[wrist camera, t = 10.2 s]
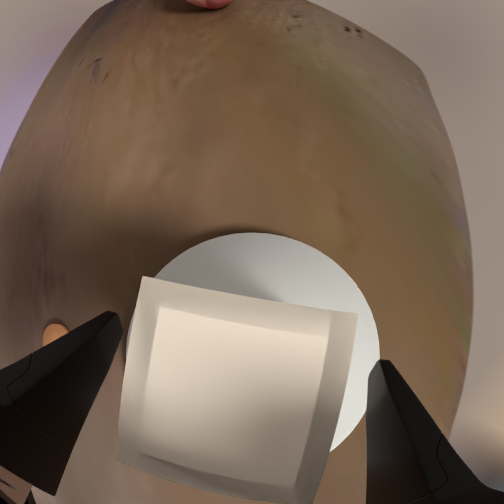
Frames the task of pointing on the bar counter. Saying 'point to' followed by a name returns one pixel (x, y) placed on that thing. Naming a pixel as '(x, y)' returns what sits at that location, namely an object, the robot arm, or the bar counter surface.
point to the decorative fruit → (210, 3)
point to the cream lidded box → (233, 391)
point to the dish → (285, 295)
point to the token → (53, 333)
